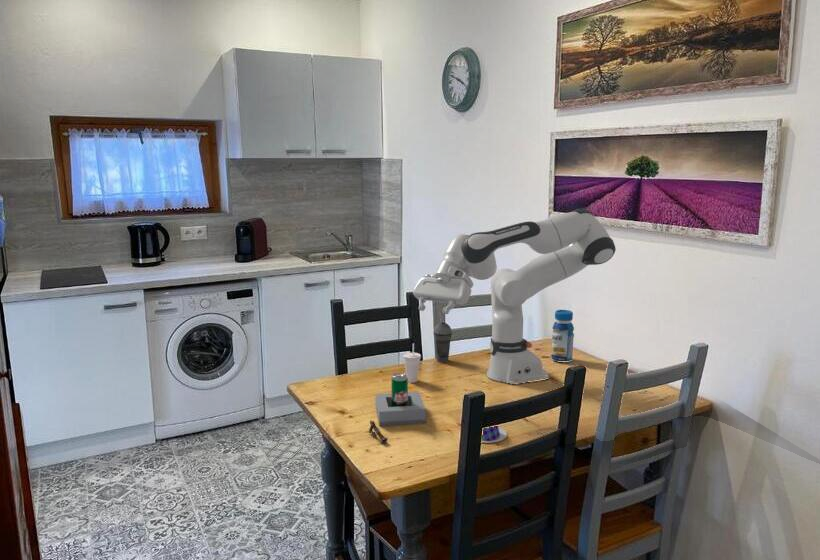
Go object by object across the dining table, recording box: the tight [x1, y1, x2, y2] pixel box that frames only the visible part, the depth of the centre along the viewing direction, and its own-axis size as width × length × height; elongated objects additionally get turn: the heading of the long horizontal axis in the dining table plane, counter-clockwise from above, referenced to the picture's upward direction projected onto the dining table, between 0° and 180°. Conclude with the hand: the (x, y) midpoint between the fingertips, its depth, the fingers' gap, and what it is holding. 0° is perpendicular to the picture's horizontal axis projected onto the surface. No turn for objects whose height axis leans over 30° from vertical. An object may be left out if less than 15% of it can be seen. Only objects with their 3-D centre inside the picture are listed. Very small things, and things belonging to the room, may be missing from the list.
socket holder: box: [374, 391, 427, 427], centre depth 187 cm, size 14×14×4 cm
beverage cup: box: [433, 311, 453, 364], centre depth 236 cm, size 7×7×20 cm
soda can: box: [391, 372, 409, 407], centre depth 186 cm, size 5×5×12 cm
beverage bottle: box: [550, 309, 575, 361], centre depth 237 cm, size 8×8×20 cm
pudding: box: [481, 425, 508, 444], centre depth 173 cm, size 12×12×5 cm
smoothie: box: [402, 343, 422, 384], centre depth 215 cm, size 6×6×14 cm
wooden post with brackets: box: [368, 420, 389, 445], centre depth 171 cm, size 2×8×4 cm, turn 36°
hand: (432, 311), depth 195 cm, fingers open, 8 cm apart
